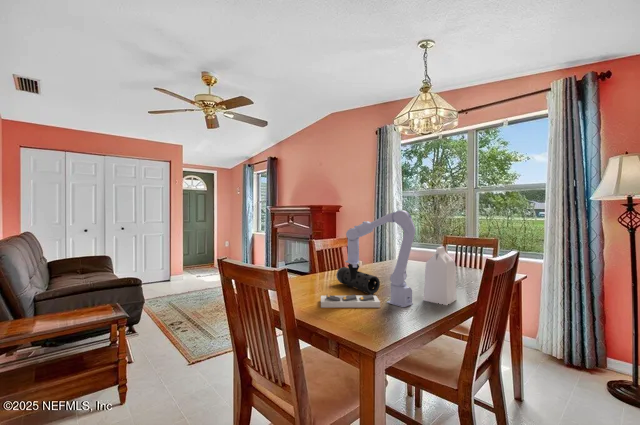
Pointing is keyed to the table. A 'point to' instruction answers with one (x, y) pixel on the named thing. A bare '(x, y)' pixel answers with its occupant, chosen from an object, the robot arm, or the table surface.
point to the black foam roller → (359, 280)
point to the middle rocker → (349, 298)
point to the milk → (440, 278)
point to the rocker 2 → (367, 298)
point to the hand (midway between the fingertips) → (353, 279)
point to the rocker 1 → (332, 298)
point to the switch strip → (350, 302)
